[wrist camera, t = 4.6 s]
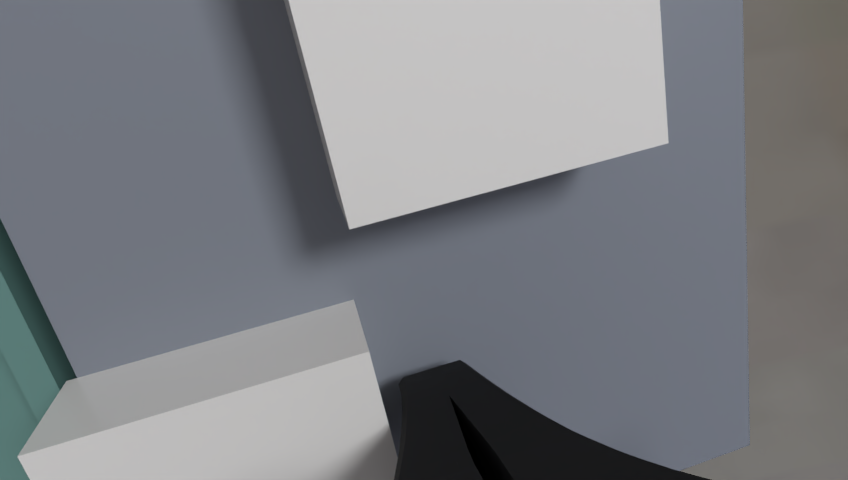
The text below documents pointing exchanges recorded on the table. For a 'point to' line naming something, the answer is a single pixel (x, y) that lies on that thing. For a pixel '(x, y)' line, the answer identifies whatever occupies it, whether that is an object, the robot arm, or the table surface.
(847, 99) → the table surface
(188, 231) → the board
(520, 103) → the tile
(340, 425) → the tile
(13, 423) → the box
